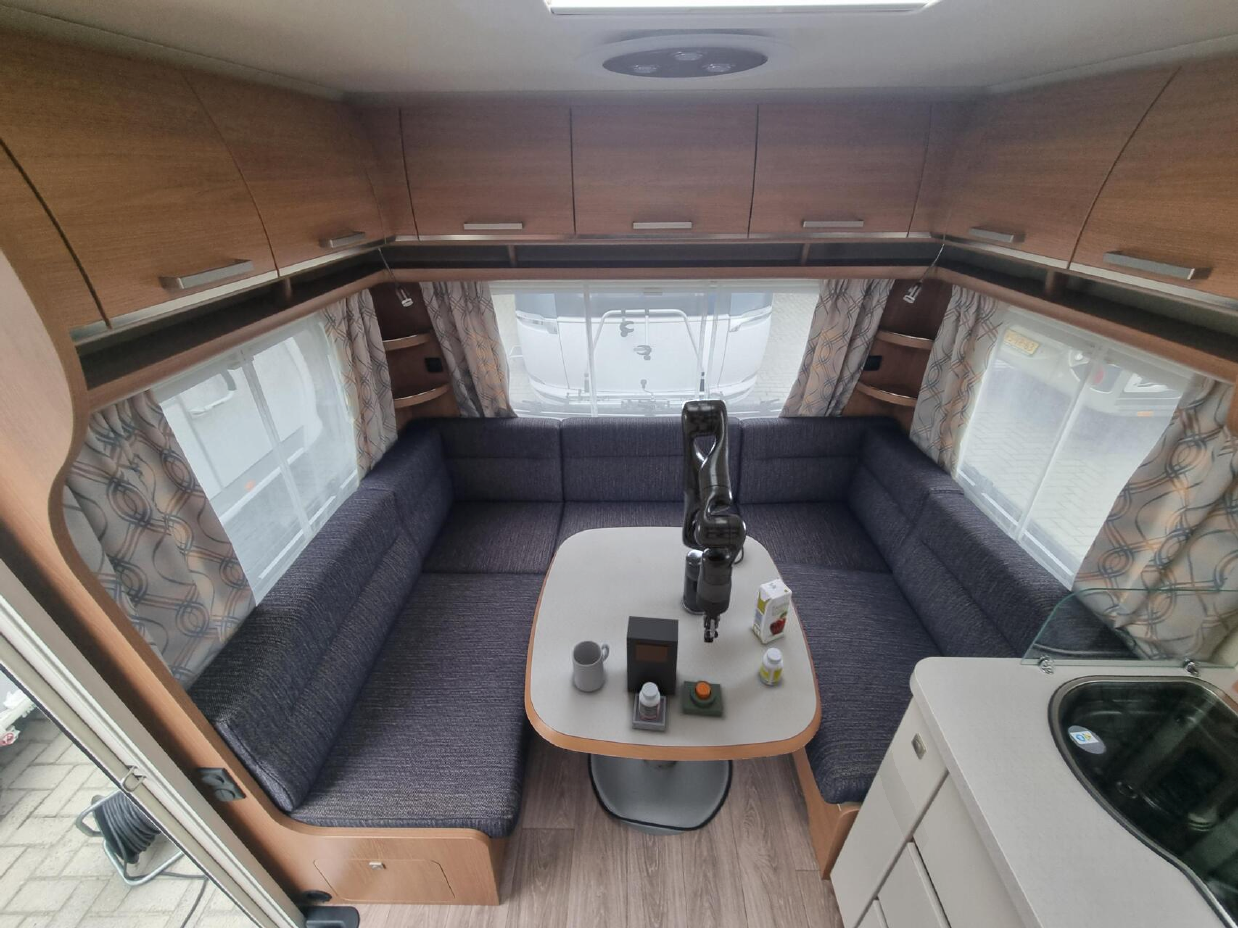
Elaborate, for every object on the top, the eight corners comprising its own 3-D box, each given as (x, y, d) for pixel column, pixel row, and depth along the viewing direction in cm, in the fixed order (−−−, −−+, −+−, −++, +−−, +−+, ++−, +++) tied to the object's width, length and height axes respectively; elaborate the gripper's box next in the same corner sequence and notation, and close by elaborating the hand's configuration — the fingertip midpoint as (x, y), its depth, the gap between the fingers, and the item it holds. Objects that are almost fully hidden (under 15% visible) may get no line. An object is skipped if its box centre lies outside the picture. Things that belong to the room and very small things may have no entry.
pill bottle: (662, 719, 126) (663, 696, 121) (642, 724, 125) (642, 700, 120) (656, 700, 131) (657, 677, 126) (636, 705, 130) (636, 681, 125)
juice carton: (747, 628, 152) (755, 583, 142) (770, 619, 155) (779, 575, 145) (763, 646, 146) (772, 601, 136) (786, 637, 149) (796, 592, 139)
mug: (588, 698, 133) (585, 672, 127) (567, 678, 138) (564, 653, 132) (619, 670, 140) (618, 644, 134) (598, 652, 145) (597, 627, 140)
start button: (695, 685, 131) (696, 681, 130) (709, 686, 131) (709, 682, 130) (696, 698, 128) (696, 693, 127) (710, 699, 128) (710, 695, 127)
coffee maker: (629, 669, 140) (629, 615, 129) (675, 673, 139) (678, 619, 128) (623, 726, 126) (621, 672, 114) (674, 732, 124) (677, 677, 113)
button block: (683, 685, 135) (684, 676, 133) (719, 689, 134) (721, 679, 132) (683, 712, 129) (683, 703, 127) (721, 716, 127) (723, 707, 125)
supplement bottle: (780, 671, 139) (785, 648, 134) (779, 688, 134) (784, 665, 129) (760, 666, 140) (765, 643, 135) (758, 682, 136) (763, 659, 131)
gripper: (696, 567, 116) (692, 618, 125) (697, 609, 105) (693, 662, 114) (728, 569, 116) (722, 620, 124) (733, 612, 104) (725, 665, 113)
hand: (708, 640), depth 119 cm, fingers closed
